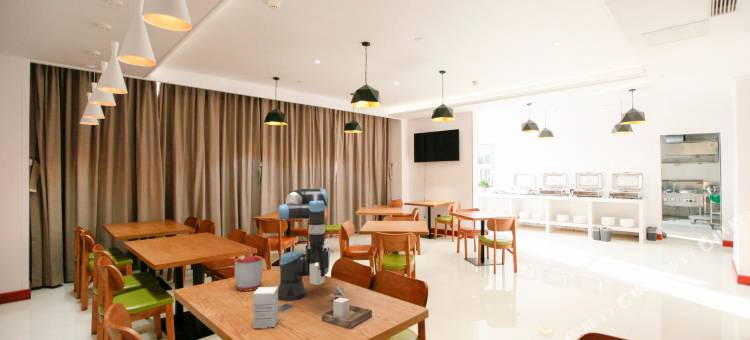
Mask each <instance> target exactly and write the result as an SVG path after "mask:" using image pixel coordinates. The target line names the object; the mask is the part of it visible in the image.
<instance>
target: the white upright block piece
mask: <svg viewBox="0 0 750 340" xmlns="http://www.w3.org/2000/svg"><path fill="white" fill-rule="evenodd" d="M319 269H320V265H319V262H316V263H312V264H310V276H309V284H311V285H315V286H316V285H317V286H319V285H320V284H319ZM325 280H326V275H325V276H324V283H325V282H326V281H325Z"/></svg>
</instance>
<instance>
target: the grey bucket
mask: <svg viewBox="0 0 750 340" xmlns="http://www.w3.org/2000/svg"><path fill="white" fill-rule="evenodd" d="M263 259H264V258H263V256H260V255H259V256H258V255H252V254H250V253H247V254H246V255H245V256H244V257H243V259H242V260H241V258H240V257H237V258H235V259H233V261H234V281H235V286H236V288H237V290H238V289H241V290H249V289H255V288H258V287H261V283H262V280H263V279H262V278H263ZM241 290H240V291H241ZM255 290H256V289H255Z"/></svg>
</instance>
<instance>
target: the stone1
mask: <svg viewBox="0 0 750 340" xmlns="http://www.w3.org/2000/svg"><path fill="white" fill-rule="evenodd" d="M332 302H333V303H332V304H333V305H332V306H333V308H332V309H333V315H334V317H337V318H341V319H344V320H350V317H349V304H350V299H349V298H345V297H344V298H341V297H340V298H338V299H336V300H333V301H332Z"/></svg>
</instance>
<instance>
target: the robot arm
mask: <svg viewBox="0 0 750 340" xmlns="http://www.w3.org/2000/svg"><path fill="white" fill-rule="evenodd" d="M284 201H285V203H284V204H280V205H279V206H278V218H279V219H280V220H284V221H285V220H286V221H287V220H307V219H308V244H306V245H305V253H303V251H302V250H294V251H288V252H285V253H283V254H282V255H281V256H280V262H279V271H280V272H279V274H280V275H279V276H280V278H279V280H280V281H279V285H278V300H279V299H280V301H284V302H287V301H292V302H293V301H298V300H301V299H303V298H304V297H306V295H307V291H306V289H305V285H304V282H303V277H307V276H309V277H310V264H312V263H316V262H319V265H320V269H319V285H321V284H324V283H325V282H324V276H325V277H326V275H327V274H328V273H329V269H330V260H331V252H329V251H330V248H329V246H326V244H325V241H326V234H325V233H326V228H325V227H326V225H325V224H326V222H325V218H326V217H325V214H326V210H327V208H328V207H329V197H328V192H327V190H326V189H325V188H299V189H298V188H297V189H295V190H293V191H291V192H289V193H288V194H287V195H286V197H285V200H284Z"/></svg>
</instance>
